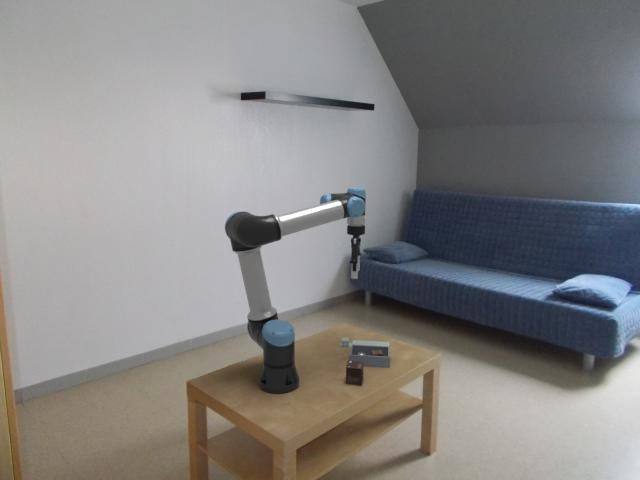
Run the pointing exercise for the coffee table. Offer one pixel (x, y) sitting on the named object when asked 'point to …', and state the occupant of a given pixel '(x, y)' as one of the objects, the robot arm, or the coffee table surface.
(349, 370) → the box
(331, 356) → the coffee table surface
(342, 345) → the lid
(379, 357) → the tub
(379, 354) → the walnut block
